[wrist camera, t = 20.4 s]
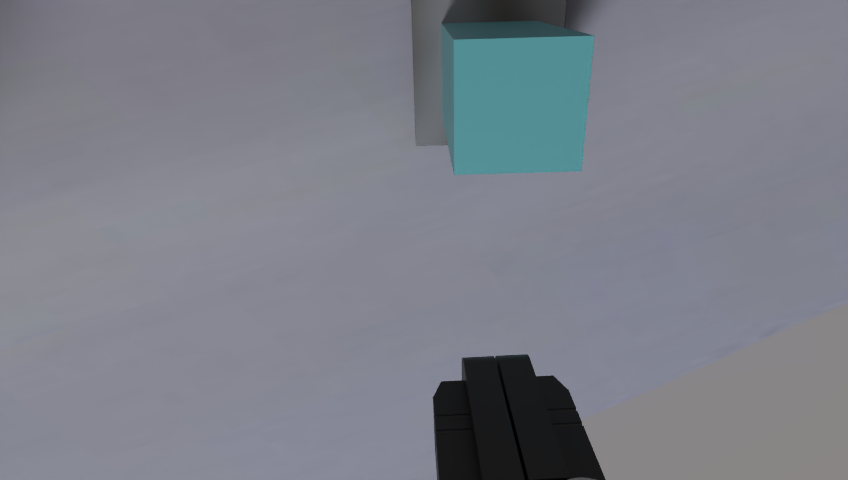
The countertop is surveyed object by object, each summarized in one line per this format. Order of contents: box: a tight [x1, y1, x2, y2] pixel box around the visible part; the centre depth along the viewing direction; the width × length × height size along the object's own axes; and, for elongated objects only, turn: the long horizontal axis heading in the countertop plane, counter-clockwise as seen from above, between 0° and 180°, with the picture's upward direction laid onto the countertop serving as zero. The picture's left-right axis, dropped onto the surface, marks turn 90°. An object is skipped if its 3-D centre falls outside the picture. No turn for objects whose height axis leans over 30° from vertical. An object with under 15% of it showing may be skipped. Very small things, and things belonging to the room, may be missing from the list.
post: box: [411, 0, 566, 146], centre depth 31 cm, size 9×9×8 cm
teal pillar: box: [441, 21, 594, 175], centre depth 29 cm, size 6×6×12 cm
